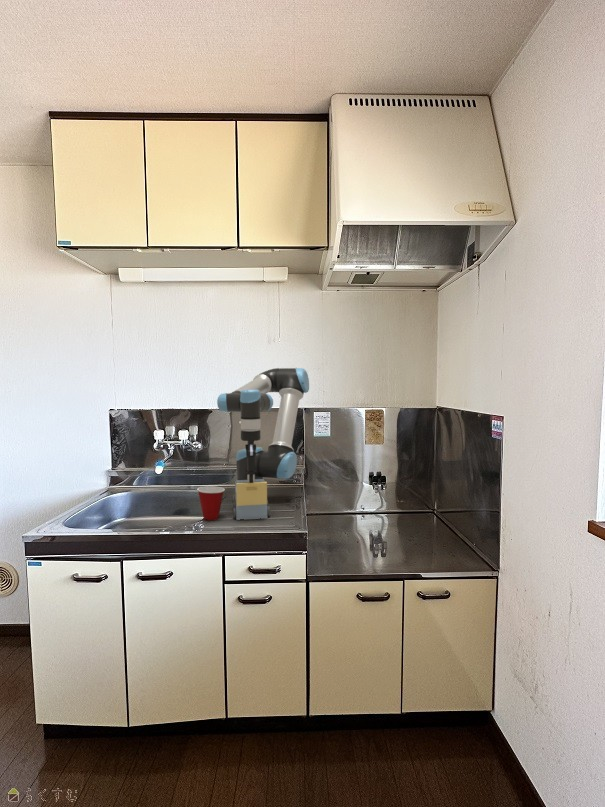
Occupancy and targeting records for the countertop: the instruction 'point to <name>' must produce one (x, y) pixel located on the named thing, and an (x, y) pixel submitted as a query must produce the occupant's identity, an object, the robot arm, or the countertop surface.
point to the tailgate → (251, 493)
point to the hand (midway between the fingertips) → (251, 490)
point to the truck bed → (250, 507)
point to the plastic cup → (210, 501)
